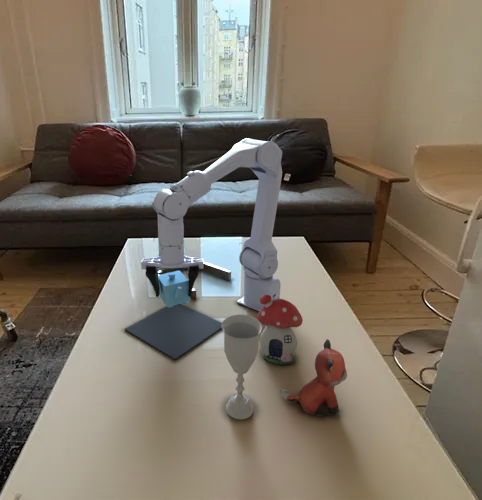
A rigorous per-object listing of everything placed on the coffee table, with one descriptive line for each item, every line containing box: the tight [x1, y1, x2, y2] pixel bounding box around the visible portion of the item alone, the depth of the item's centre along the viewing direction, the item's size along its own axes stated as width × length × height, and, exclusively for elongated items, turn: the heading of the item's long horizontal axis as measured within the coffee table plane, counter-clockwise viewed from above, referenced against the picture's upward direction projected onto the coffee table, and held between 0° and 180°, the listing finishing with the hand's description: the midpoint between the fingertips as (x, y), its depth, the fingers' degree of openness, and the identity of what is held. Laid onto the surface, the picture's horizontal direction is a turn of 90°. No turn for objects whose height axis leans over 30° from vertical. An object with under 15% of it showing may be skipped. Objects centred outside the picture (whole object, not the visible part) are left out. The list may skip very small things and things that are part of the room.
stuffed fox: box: [279, 338, 348, 417], centre depth 70 cm, size 8×11×12 cm
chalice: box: [221, 314, 263, 420], centre depth 68 cm, size 7×7×18 cm
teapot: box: [158, 271, 192, 308], centre depth 94 cm, size 12×6×8 cm, turn 19°
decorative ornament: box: [256, 295, 304, 366], centre depth 83 cm, size 9×6×15 cm
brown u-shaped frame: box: [158, 261, 232, 301], centre depth 121 cm, size 18×17×3 cm
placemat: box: [124, 304, 223, 361], centre depth 97 cm, size 18×18×1 cm
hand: (174, 294), depth 94 cm, fingers closed on teapot, 7 cm apart
